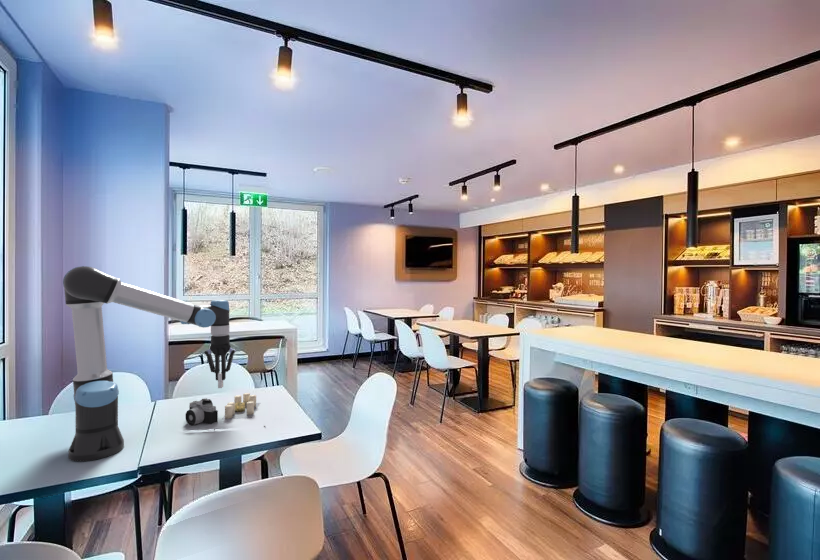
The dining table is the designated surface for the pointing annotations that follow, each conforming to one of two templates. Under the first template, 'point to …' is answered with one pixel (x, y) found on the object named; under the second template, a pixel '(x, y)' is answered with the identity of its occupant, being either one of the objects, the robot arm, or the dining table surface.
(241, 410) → the nut
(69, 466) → the dining table surface
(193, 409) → the camera
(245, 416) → the board
